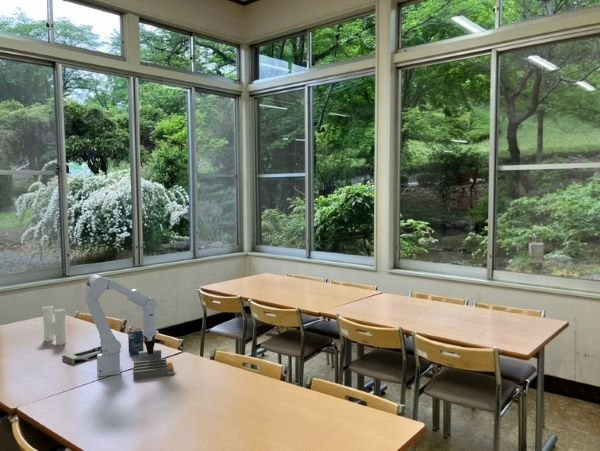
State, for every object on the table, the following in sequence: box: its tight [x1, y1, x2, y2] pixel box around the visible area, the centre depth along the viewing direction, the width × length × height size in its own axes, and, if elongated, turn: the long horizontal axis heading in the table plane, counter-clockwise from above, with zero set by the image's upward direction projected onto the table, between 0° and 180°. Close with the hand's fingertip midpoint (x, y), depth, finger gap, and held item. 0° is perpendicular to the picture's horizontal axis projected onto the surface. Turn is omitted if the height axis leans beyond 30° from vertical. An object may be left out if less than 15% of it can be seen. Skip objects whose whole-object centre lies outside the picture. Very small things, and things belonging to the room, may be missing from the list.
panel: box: [138, 348, 162, 362], centre depth 220 cm, size 10×2×6 cm, turn 108°
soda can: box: [127, 328, 145, 357], centre depth 233 cm, size 7×7×12 cm
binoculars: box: [41, 305, 67, 346], centre depth 253 cm, size 17×5×18 cm, turn 56°
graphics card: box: [61, 345, 103, 366], centre depth 230 cm, size 10×3×25 cm
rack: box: [132, 358, 175, 381], centre depth 209 cm, size 16×12×4 cm
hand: (150, 351), depth 220 cm, fingers open, 7 cm apart
